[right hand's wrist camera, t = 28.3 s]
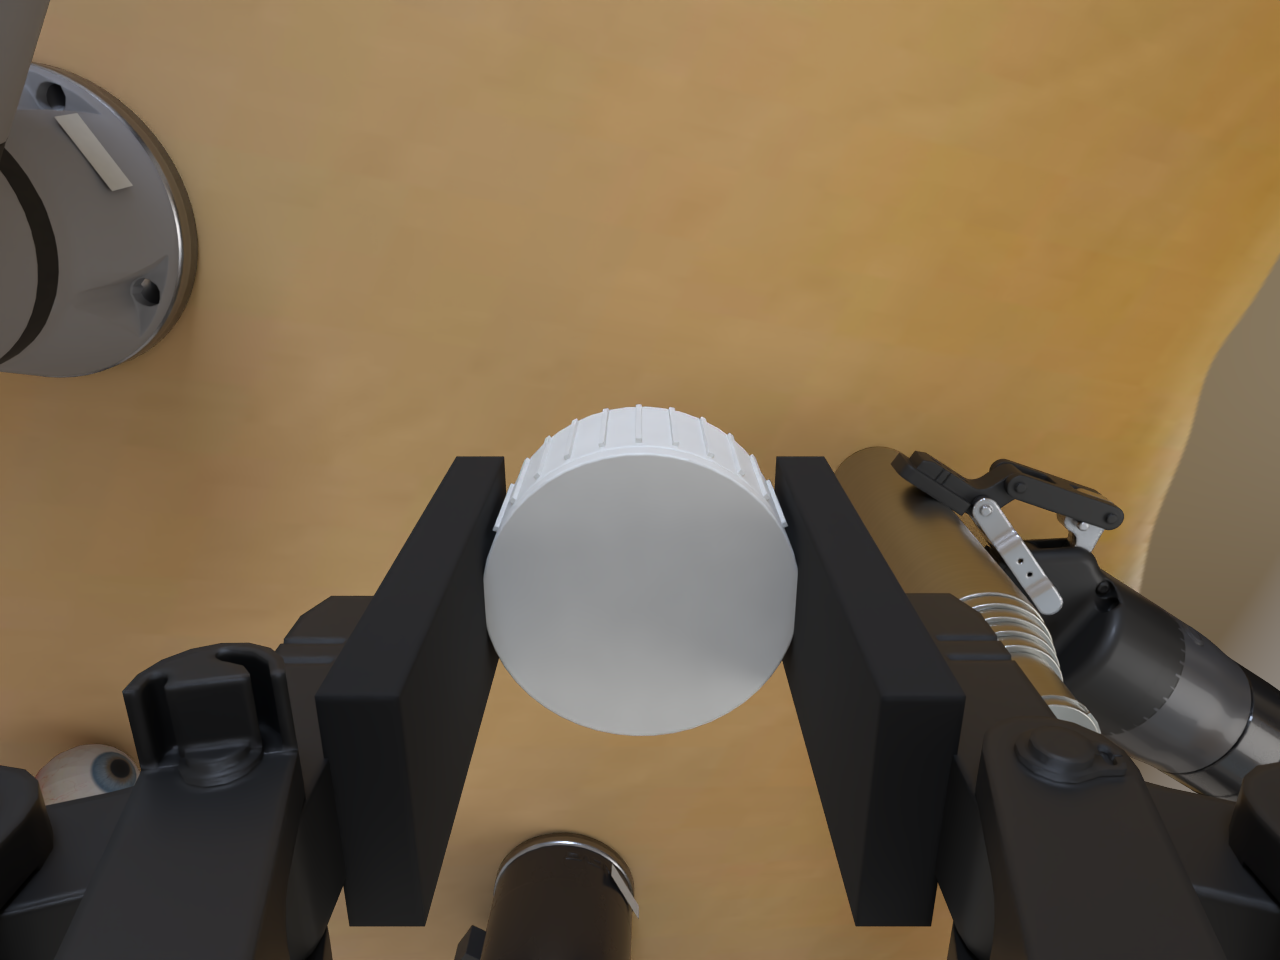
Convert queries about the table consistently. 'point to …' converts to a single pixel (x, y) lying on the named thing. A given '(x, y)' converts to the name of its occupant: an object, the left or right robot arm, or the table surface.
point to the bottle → (954, 569)
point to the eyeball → (86, 773)
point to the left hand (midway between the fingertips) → (864, 509)
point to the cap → (640, 574)
